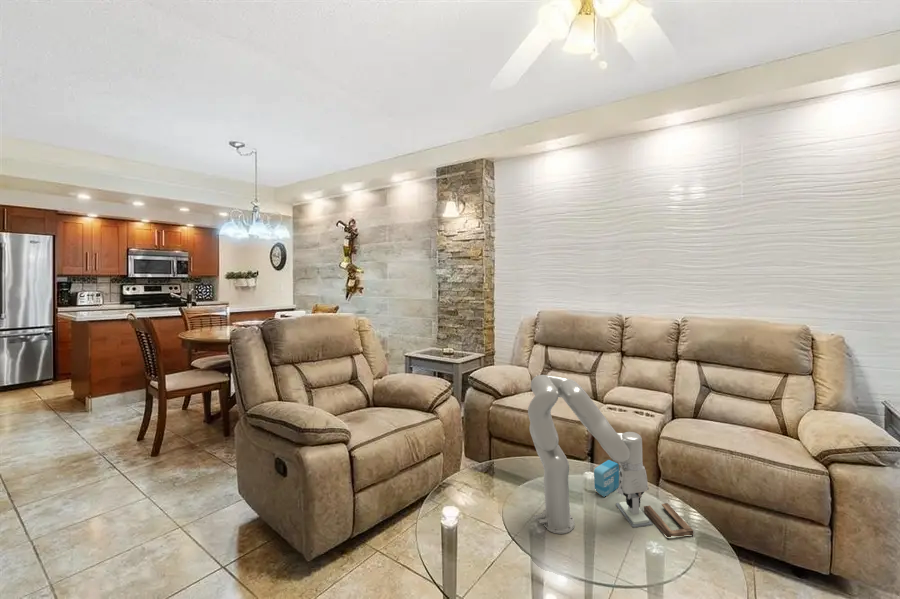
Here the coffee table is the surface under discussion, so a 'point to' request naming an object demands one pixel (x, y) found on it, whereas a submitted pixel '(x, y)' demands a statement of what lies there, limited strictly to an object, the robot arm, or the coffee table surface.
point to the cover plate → (634, 517)
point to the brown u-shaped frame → (663, 526)
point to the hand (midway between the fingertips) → (633, 505)
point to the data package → (606, 477)
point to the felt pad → (631, 521)
